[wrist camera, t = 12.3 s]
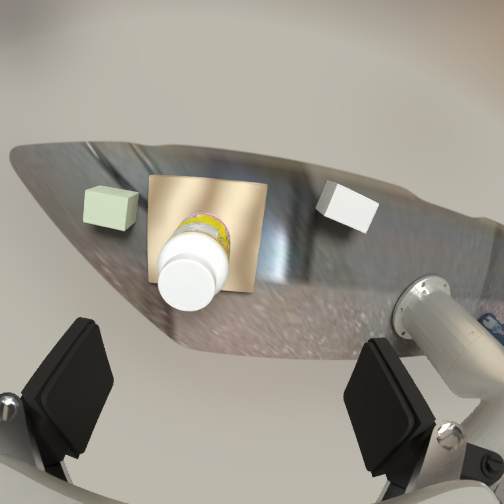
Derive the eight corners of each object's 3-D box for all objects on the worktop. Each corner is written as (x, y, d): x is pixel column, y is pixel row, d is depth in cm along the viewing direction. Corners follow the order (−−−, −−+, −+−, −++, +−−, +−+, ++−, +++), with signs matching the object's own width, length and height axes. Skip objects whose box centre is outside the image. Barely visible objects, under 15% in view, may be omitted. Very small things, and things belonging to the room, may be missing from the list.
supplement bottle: (220, 269, 35) (213, 331, 23) (171, 253, 34) (139, 307, 22) (238, 221, 33) (239, 264, 21) (185, 203, 32) (155, 236, 20)
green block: (139, 192, 33) (128, 198, 29) (135, 222, 34) (124, 231, 30) (99, 185, 32) (85, 190, 28) (97, 214, 33) (83, 221, 29)
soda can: (477, 338, 47) (504, 367, 35) (467, 332, 45) (496, 364, 34) (493, 314, 45) (522, 341, 33) (484, 307, 43) (516, 336, 32)
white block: (365, 197, 34) (379, 203, 30) (353, 224, 35) (365, 233, 32) (327, 179, 33) (337, 183, 29) (315, 208, 34) (324, 215, 31)
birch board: (266, 184, 33) (267, 185, 31) (252, 287, 38) (252, 292, 36) (153, 174, 32) (149, 175, 30) (151, 277, 37) (148, 282, 35)
